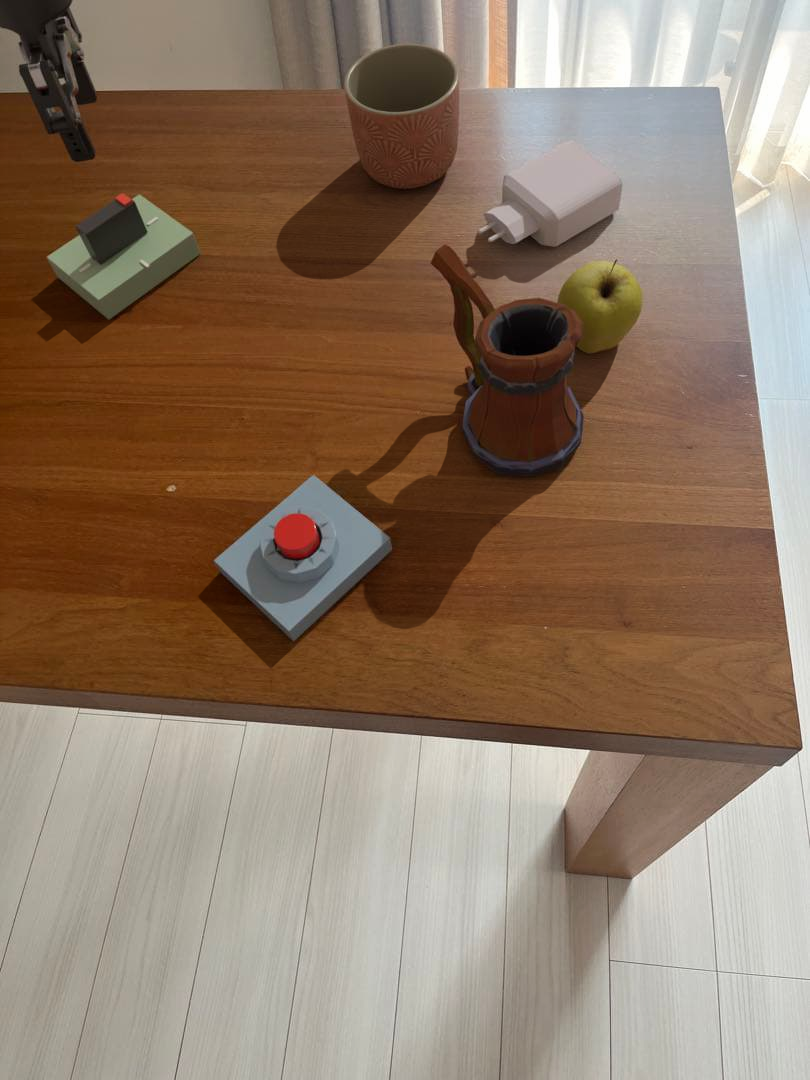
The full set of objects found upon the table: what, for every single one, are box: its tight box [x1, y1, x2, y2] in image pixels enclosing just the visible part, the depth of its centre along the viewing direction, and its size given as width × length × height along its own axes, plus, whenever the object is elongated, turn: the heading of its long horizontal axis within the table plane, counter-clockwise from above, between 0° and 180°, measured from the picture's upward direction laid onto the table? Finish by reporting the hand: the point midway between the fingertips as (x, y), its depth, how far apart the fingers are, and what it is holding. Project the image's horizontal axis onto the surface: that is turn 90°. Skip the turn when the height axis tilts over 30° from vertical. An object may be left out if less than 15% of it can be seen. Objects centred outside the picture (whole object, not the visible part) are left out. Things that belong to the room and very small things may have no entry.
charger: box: [477, 139, 623, 248], centre depth 96 cm, size 5×9×15 cm
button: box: [274, 513, 319, 559], centre depth 75 cm, size 4×4×2 cm
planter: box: [343, 43, 460, 190], centre depth 99 cm, size 12×12×11 cm
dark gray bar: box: [75, 192, 147, 264], centre depth 95 cm, size 6×2×4 cm, turn 136°
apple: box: [556, 258, 644, 354], centre depth 85 cm, size 8×8×10 cm
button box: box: [213, 474, 393, 642], centre depth 77 cm, size 12×10×4 cm
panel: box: [46, 194, 201, 320], centre depth 98 cm, size 13×11×3 cm
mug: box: [430, 244, 585, 478], centre depth 79 cm, size 18×12×15 cm, turn 35°
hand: (86, 129), depth 84 cm, fingers open, 8 cm apart
